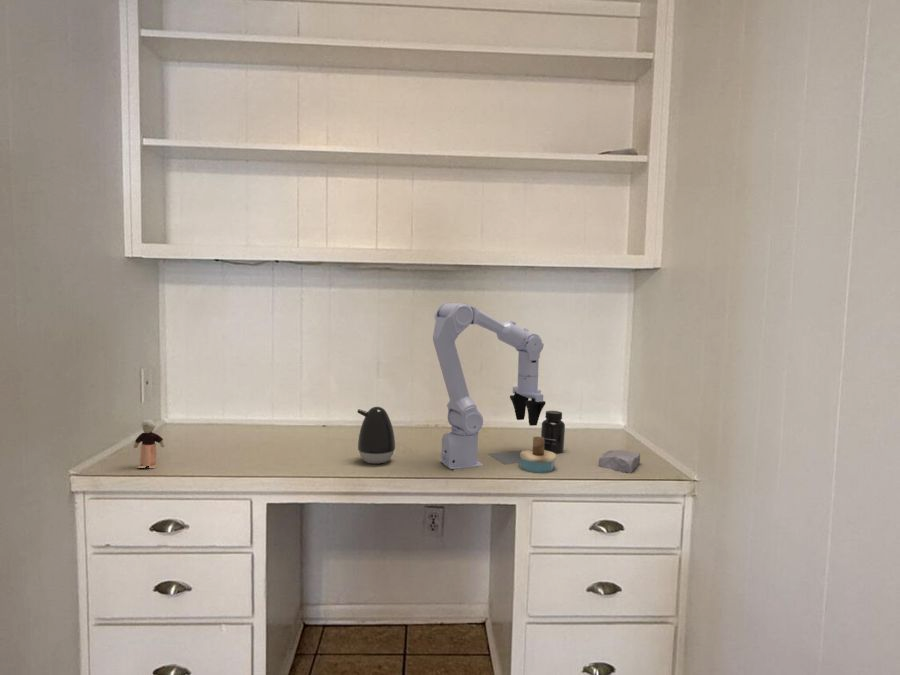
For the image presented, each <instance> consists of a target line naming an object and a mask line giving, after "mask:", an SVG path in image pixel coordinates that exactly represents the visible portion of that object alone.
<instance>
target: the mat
mask: <svg viewBox="0 0 900 675" xmlns="http://www.w3.org/2000/svg"><path fill="white" fill-rule="evenodd" d="M522 451H523V450H515V451H514V450H513V451H505V452H504V451H503V452H495V453H494V452H492V453H487V455H488V456H490V457H491V458H493V459H495V460H497V461H498V462H500V463H502V464H503V465H510V464H511V465H512V464H514V465H515V464H520V453H521V452H522Z"/></svg>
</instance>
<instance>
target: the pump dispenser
mask: <svg viewBox="0 0 900 675" xmlns="http://www.w3.org/2000/svg"><path fill="white" fill-rule="evenodd" d="M357 413H358V414H360V415H362V416H363V417H364V419H363V420H362V423H361V425H360V430H359V433H358V440H357V450H358V453H359V456H360V457H361V459H362V460H363V461H364V462H365V463H368V464H372V465H380V464H381V463H382V464H384V463H386V462H388V461H390V459H392V458H393V455H394V451H395V450H396V439H395V432H394V427H393V424H392V422H391V419H390V417H389V414H388V412H387V411H386V410H385V409H384V408H383V407H381V406H373V407H371V408H370V409H368V411H366V410H362V409H357Z"/></svg>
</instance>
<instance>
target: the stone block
mask: <svg viewBox="0 0 900 675" xmlns="http://www.w3.org/2000/svg"><path fill="white" fill-rule="evenodd" d="M640 463H641V453H640V452H634V451H630V450H625V449H616V450H608V451H605V453H602V454H601V456H600V457H599V458H598V465H599V467H600V468H603V469H608V470H613V471H614V472H619V471H620V472H621V473H627V472H628V474H632V473H633V472H634V471H635V469H636V468H637V467H638V466H639V465H640ZM638 464H639V465H638ZM637 465H638V466H637ZM631 472H632V473H631Z"/></svg>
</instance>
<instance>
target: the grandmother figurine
mask: <svg viewBox="0 0 900 675" xmlns="http://www.w3.org/2000/svg"><path fill="white" fill-rule="evenodd" d="M141 426H142V431H143V432H142V433H140V434H139V435H138V436H137V437H136V439H135V442H134V444H133V446H132V447H133V448H134V449H137V448H138V447H139V445H140V443H141V442H142V443H141V445H140V459H139V460H140V461H139V465H138V466H155V465H157V445H156V443H158V444H159V445H160V447H161V448H165V446H166V444H165V442H164V438H162V437H161V435H159V434H157V433H154V432H153V431H154V429H155V428H157V425H156V423H155V421H153V420H152V419H151V418H149V419H144V420H143V421H142V422H141Z"/></svg>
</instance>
